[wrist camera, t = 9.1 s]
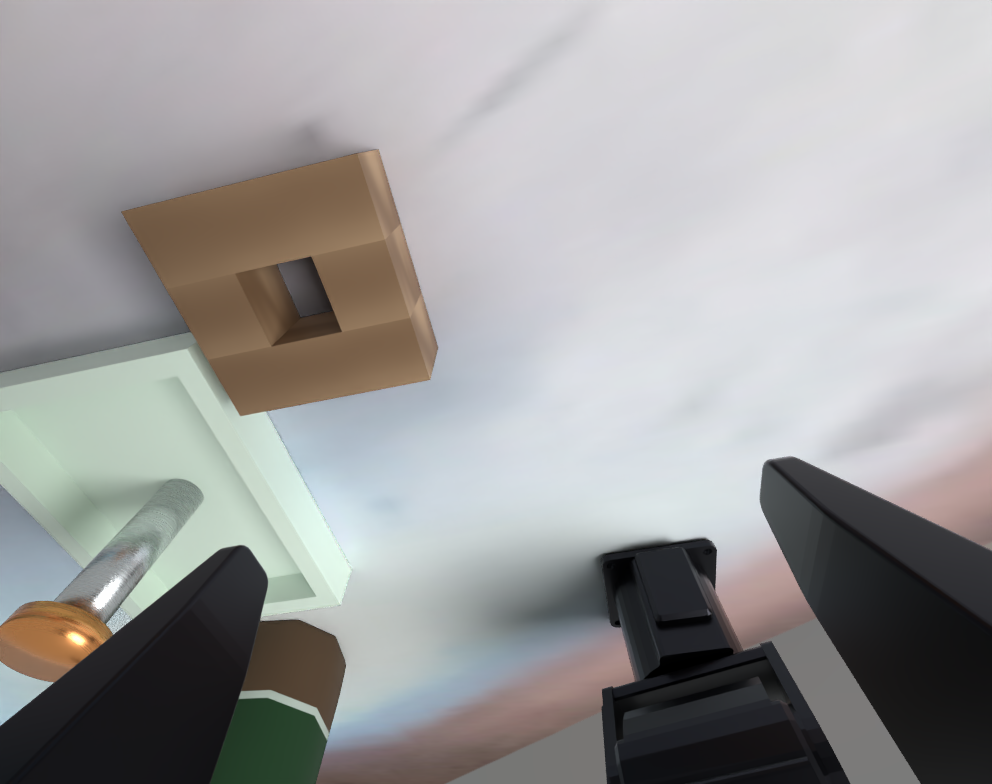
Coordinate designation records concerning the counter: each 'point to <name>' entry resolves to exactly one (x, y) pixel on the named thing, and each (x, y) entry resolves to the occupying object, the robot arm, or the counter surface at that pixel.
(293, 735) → the beer bottle
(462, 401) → the counter surface
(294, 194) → the block
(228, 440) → the tray
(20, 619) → the pin
